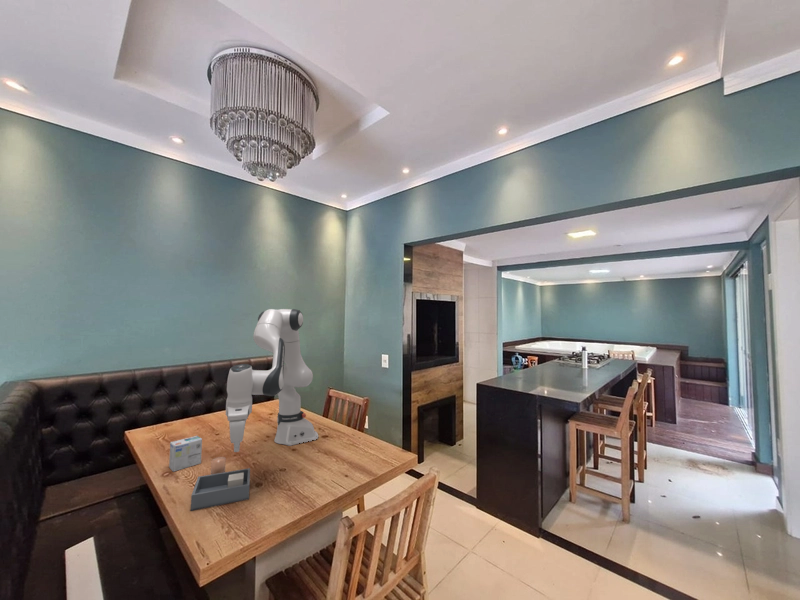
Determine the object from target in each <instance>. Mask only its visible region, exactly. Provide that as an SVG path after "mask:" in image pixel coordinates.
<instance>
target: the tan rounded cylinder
mask: <svg viewBox="0 0 800 600" xmlns="http://www.w3.org/2000/svg"><path fill="white" fill-rule="evenodd" d="M226 459H227V458H226V457H225V456H218V457H214V458H213V459H212V460H211V462H210V463H211V464H210V475H211V474H218V473H224V472H226Z"/></svg>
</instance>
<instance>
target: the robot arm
mask: <svg viewBox="0 0 800 600" xmlns="http://www.w3.org/2000/svg"><path fill="white" fill-rule="evenodd" d="M303 324H304V315H303V312H301V310H300V309H295V308H293V309H292V308H291V309H290V308H280V309H276V308H275V309H274V308H269V309H267V310H263V311H261V312H260V314H258V317H257V323H256V326H255V328H254V330H253V336H252V337H253V341H254V343H255V344H256V345H257V347H259V348H260V349H261V350H264V351H268V352H270V353H272V354H273V356H272V357H273V358H272V364H271V365H272V366H271V368H270V369H268V370H261V369H260V370H259V369H258V370H257V369H253V367H252V365H251V364H247V363H241V364H236V365H233V366H232V367H230V369H229V372H228V375H227V381H226V382H227V383H226V393H227V398H226V401H225V416H226V417H227V421H228V422H229V423H228V425H229V438H230V443H231V444H233V452H234V453H238V452H240V450H241V449H240V448H241V443H242V442H243V440H244V434H245V428H246V423H247V419H249V416H250V414H251V413H252V412H253V396H254V395H255V396H256V395H257V396H260V395H262V396H263V395H264V396H267V397H268V396H269V397H275V396H277V397H278V412H277V420H276V423H277V427H276V433H275V437H274V440H273V441H274V443H276V444H279V445H285V446H290V447H291V446H295V445H300V444H304V443H307V442H308V441H309V442H313V441H312V440H314V441H317V440H318V439H319V434H318V432H317V431H316V430H315V428H314V424H313V423H312V422H311V421H310V420H308V419H306V417H307V414H306V413H305V412H304V411H303V410H301V405H302V402H301V401H302V400H301V399H302V397H301V395H300V394H299V393H298V391H296V390H297V389H296V388H306V387H309V386H310V385H311V383H312V382H313V379H314V375H313V371H312V369H311V368H309V366H308V365H307V364H306V362H305V361H304V359H303V356H302V351H301V342H300V340H301V339H300V333H299V329H301V327H302V326H303ZM252 395H253V396H252ZM316 439H317V440H316ZM303 442H304V443H303ZM309 442H308V443H309ZM299 443H300V444H299Z"/></svg>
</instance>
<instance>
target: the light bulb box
mask: <svg viewBox="0 0 800 600" xmlns="http://www.w3.org/2000/svg"><path fill="white" fill-rule="evenodd" d="M202 449H203V438H201V437H200V436H198V435H195V436H190V437H186V438H182V439H178V440H173V441H170V443H169V464H168V467H169V469H170V470H171V471H172V472H173V473H174V472H177V471H180V470H184V469H186V468H190V467H194V466H197V465H200V464H202V452H203V451H202Z"/></svg>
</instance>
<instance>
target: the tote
mask: <svg viewBox="0 0 800 600" xmlns="http://www.w3.org/2000/svg"><path fill="white" fill-rule="evenodd" d="M243 472H244V478H243V485H240V486H234V487H229V488H228V478H229V475H231V474H237V473H243ZM196 479H197V480H196V481H195V484H194V487H193V490H192V493H191V496H190V512H193V511H197V510H203V509H206V508H213V507H218V506H222V505H227V504H233V503H237V502H242V501H247V500H249V499H250V481H251V468H250V467H248V468H244V469H243V468H242V469H237V470H231V471H225V472H224V473H218V474H211V473H210V474H206V475H205V474H204V475H200V476H197V478H196Z"/></svg>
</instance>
